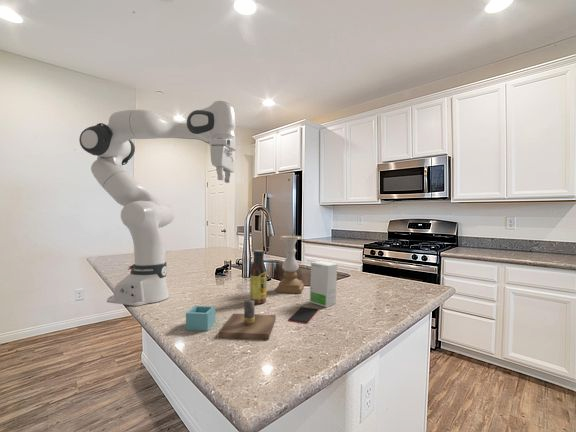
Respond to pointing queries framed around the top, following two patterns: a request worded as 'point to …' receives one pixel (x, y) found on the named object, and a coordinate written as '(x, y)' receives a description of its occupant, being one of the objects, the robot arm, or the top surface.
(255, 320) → the post stand
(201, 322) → the teal collar
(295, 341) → the top surface
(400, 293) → the top surface
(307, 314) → the smartphone
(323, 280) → the skincare box
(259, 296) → the sauce bottle
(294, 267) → the candle holder
